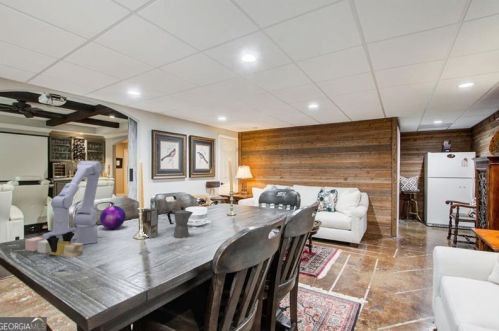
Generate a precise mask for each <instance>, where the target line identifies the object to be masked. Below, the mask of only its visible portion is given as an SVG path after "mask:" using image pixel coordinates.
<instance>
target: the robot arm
mask: <svg viewBox="0 0 499 331" xmlns="http://www.w3.org/2000/svg"><path fill="white" fill-rule="evenodd" d="M76 170H77V171H76V172H75V174H74V176H73V177H72V179H71V181H70V182H68V183H66V184H65V185H64V186H63V188H62V190H61V191H60V193H59V194H58V195H55V196H54V197H53V198H52V200H51V202H50V205H51V206H50V207H52V208H51V209H52V211H53V225H52V226H53V227H52V230H51V231H49V232H46V233H43V234H42V238H43V239H44V240H47V241H48V243H49V245H50V248H51V252H56V251H57V243H58V241H60V237H57V236H60V235H61V237H62V241H68V242H69V244H71V240H72V239H73V238H74V236H75V232H76V240H75V242H74V243H80V244H83V245H88V244H96V243H98V224H96V223H98V222H97V221H98V210H96V209H94V205H95V199H96V194H97V189H98V185H99V184H98V183H99V179H100V177H101V175H102V170H103V166H102V163H101V162H100V161H90V160H89V161H87V160H80V161H79V162H78V164H77V166H76ZM85 178H86V185H85V188H84V195H83V199H82V203H81V207H80V208H78V209H77V210H76V212H75V214H74V216H73V218H72V219H73V220H72V222H73V225H75V227H73V226H72V227H69V223H70V222H69V221H70V220H69V219H70V218H69V216H70V208H71V206H73V202H74V197H75V195H76V194H77V192H78V191H79V185H80V184H81V182H82V181H83V180H84V179H85Z"/></svg>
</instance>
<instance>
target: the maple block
mask: <svg viewBox="0 0 499 331" xmlns="http://www.w3.org/2000/svg"><path fill="white" fill-rule="evenodd" d="M83 246H84V244H80V243H75V242H73V243H69V244H68V245H65V246H64V254H63V257H64V258H69V257H70V259H74V258H76V257H78V256H82V255H83ZM73 257H74V258H73Z"/></svg>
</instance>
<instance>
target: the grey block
mask: <svg viewBox="0 0 499 331" xmlns="http://www.w3.org/2000/svg"><path fill="white" fill-rule="evenodd" d="M50 250H51V248H50V245H49V243H48V241H47V240H46V239H44V240H43V241H39V242H38V250H36V251H37V253H41V254H48V253H50Z"/></svg>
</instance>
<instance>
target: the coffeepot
mask: <svg viewBox="0 0 499 331" xmlns="http://www.w3.org/2000/svg"><path fill="white" fill-rule="evenodd" d="M192 214H194V212H193V211H189V210H184V206H180V210H179V209H178V210H169V211H168V212H167V213H166V216H167V218H168V222H169V225H174V222H172V218H171V215H174V221H175V227H174V232H173V237H174V238H175V239H184V238H183V237H186V238H188V237H189V236H190V233H189V227H188V223H189V220H190V217H191V216H192ZM187 236H188V237H187Z"/></svg>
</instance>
